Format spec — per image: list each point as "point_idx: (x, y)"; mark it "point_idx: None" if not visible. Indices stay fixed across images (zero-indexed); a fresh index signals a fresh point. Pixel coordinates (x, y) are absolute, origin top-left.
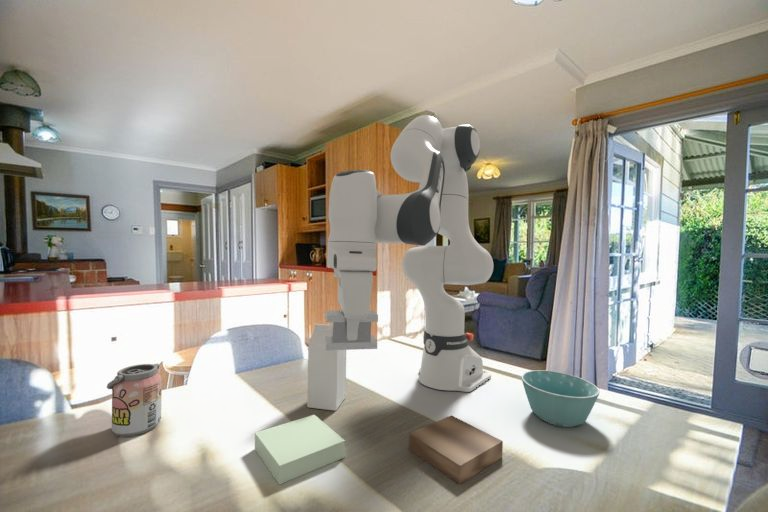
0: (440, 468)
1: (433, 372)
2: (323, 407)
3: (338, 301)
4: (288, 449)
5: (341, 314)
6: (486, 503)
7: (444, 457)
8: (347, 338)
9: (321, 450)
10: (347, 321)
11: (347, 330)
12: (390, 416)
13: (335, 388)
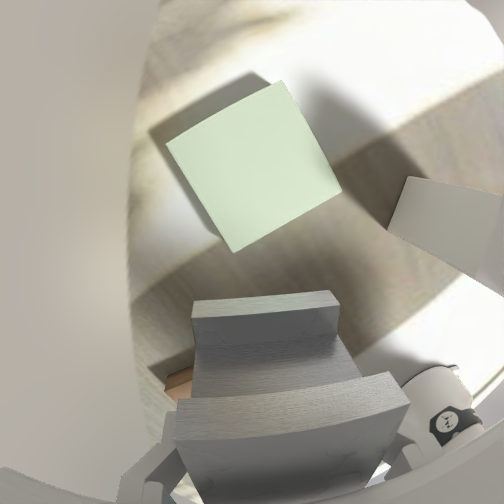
0: (191, 367)
1: (419, 399)
2: (398, 207)
3: (502, 428)
4: (212, 150)
5: (224, 489)
6: (141, 387)
7: (184, 381)
8: (167, 414)
9: (207, 211)
10: (123, 477)
11: (163, 441)
12: (346, 323)
13: (411, 241)
